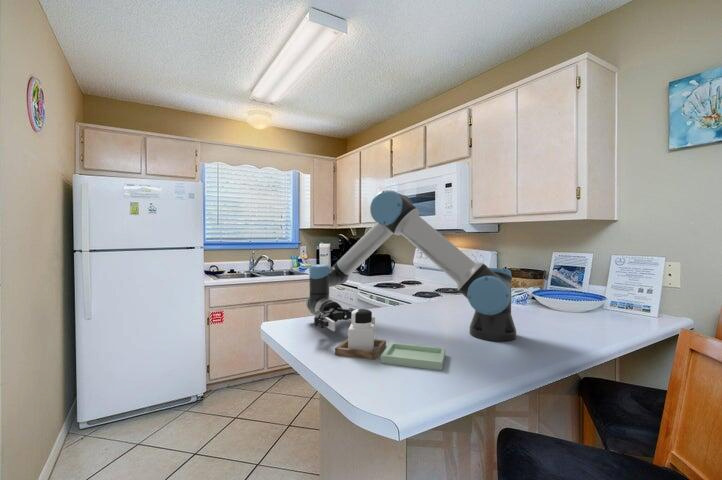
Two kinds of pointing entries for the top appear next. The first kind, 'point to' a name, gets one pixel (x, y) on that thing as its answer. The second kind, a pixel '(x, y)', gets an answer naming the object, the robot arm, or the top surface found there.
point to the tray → (414, 356)
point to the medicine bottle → (361, 330)
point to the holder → (374, 354)
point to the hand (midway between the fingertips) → (354, 324)
